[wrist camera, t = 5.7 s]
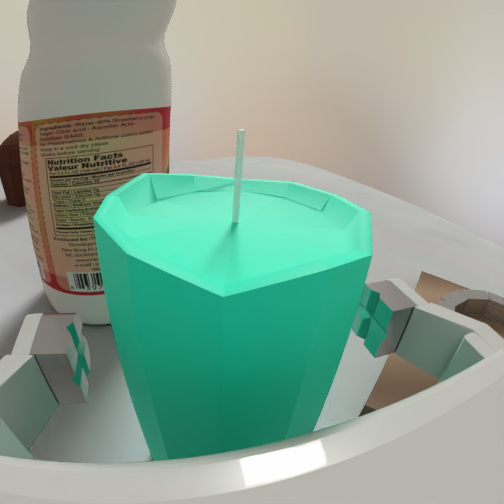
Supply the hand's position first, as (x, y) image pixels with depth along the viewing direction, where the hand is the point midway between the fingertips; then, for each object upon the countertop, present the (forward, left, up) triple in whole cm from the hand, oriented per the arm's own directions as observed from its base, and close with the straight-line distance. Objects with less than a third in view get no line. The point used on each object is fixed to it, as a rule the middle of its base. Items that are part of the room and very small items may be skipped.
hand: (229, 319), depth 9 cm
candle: (0, 0, -7) cm, 7 cm away
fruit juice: (+4, +14, -7) cm, 16 cm away
